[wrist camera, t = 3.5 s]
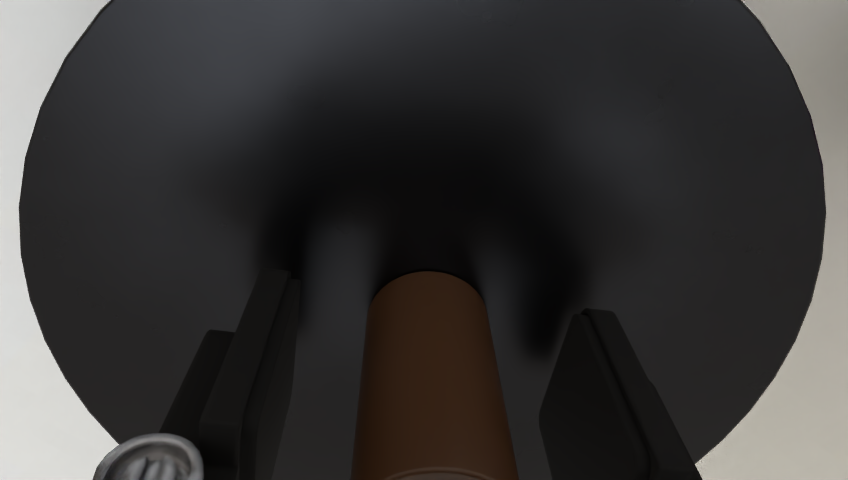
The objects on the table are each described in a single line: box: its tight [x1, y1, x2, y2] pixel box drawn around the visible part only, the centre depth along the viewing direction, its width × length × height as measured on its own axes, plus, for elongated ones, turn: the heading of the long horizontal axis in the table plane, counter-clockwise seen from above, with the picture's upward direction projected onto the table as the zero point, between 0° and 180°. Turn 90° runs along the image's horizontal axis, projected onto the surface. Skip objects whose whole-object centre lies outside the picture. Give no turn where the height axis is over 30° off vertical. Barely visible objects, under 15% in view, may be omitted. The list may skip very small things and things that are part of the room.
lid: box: [19, 0, 826, 480], centre depth 11 cm, size 17×17×6 cm
